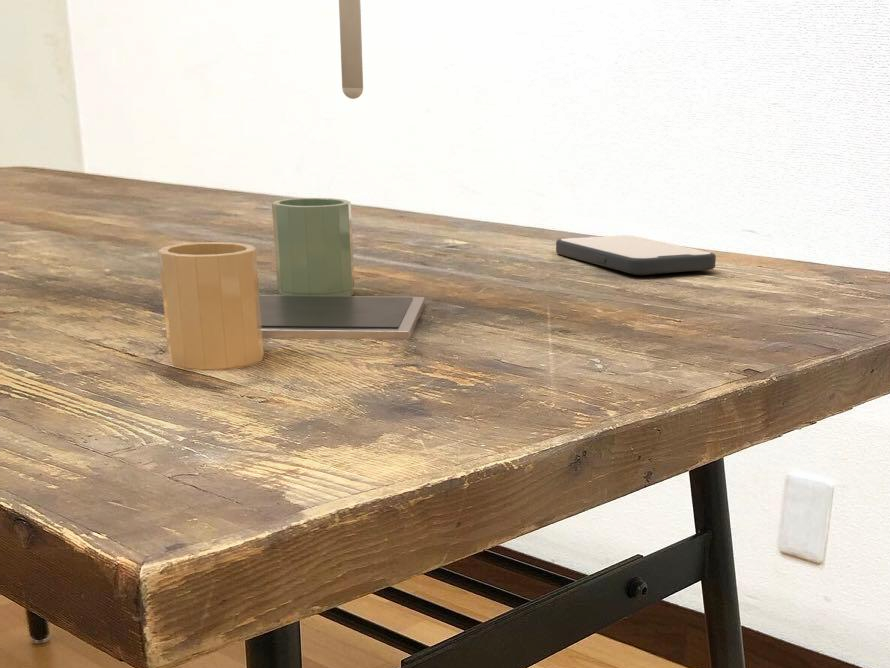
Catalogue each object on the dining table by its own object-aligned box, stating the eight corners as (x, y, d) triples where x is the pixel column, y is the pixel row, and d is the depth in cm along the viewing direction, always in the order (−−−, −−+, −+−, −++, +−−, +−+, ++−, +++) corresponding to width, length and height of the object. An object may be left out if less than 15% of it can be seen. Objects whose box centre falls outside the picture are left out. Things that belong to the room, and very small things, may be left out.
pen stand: (159, 377, 72) (146, 255, 69) (184, 355, 77) (173, 241, 74) (252, 378, 72) (243, 256, 69) (271, 356, 77) (263, 242, 74)
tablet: (162, 343, 80) (160, 327, 79) (208, 308, 91) (206, 293, 91) (409, 346, 80) (409, 329, 80) (425, 310, 91) (424, 295, 91)
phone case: (550, 255, 118) (633, 279, 104) (550, 238, 117) (634, 259, 104) (631, 250, 121) (721, 272, 108) (631, 234, 121) (722, 253, 107)
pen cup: (272, 300, 94) (265, 206, 91) (286, 287, 99) (280, 197, 97) (348, 301, 94) (343, 207, 91) (358, 287, 99) (354, 198, 97)
